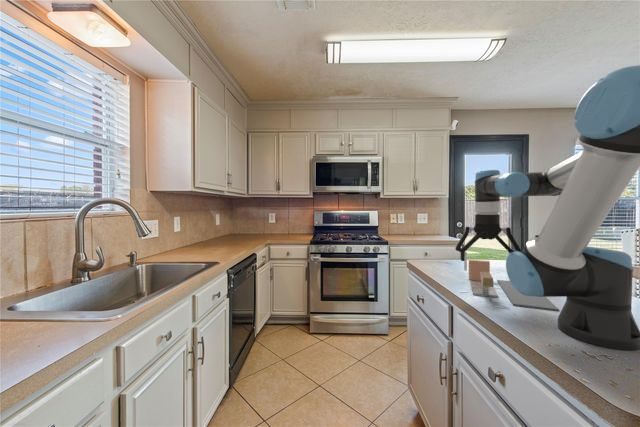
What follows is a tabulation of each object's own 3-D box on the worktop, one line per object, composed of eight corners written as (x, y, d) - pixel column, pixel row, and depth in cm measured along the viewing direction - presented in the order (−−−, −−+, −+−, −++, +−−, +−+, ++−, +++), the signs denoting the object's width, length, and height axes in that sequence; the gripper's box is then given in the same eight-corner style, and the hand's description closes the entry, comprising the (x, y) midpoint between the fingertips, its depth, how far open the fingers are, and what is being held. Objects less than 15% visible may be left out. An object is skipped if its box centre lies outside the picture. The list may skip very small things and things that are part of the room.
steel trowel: (501, 305, 89) (501, 279, 89) (474, 301, 93) (474, 277, 92) (491, 285, 110) (491, 264, 109) (469, 283, 113) (469, 263, 113)
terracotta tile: (489, 281, 115) (489, 261, 114) (469, 279, 118) (468, 260, 118) (489, 280, 116) (488, 260, 116) (468, 278, 120) (468, 259, 120)
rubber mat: (558, 311, 83) (558, 309, 83) (513, 305, 88) (513, 303, 88) (530, 284, 110) (530, 282, 110) (496, 281, 115) (496, 279, 115)
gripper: (527, 212, 91) (526, 272, 92) (448, 213, 102) (448, 265, 103) (533, 214, 84) (532, 277, 86) (448, 214, 95) (448, 270, 96)
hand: (486, 271), depth 94 cm, fingers open, 13 cm apart
